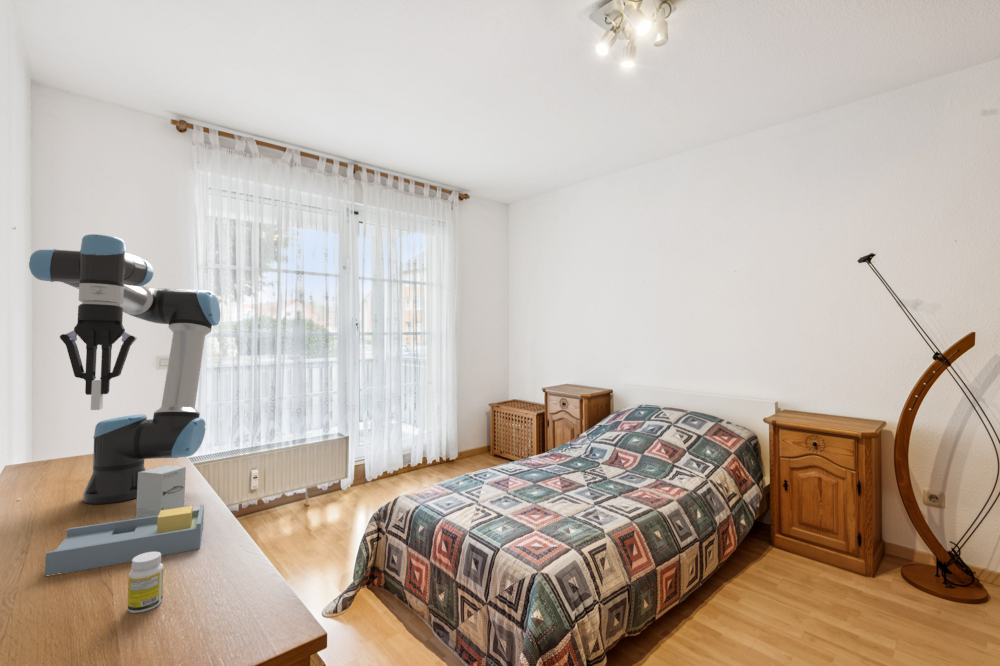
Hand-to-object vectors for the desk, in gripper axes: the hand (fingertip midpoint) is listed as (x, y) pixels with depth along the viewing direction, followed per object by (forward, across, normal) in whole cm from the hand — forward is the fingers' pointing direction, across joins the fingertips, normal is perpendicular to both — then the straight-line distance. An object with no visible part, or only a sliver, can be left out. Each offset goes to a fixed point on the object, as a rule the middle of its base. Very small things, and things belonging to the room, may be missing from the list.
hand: (96, 409), depth 100 cm
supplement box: (+31, +11, +13) cm, 35 cm away
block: (+27, +16, -6) cm, 32 cm away
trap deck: (+30, +8, -6) cm, 32 cm away
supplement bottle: (+31, +14, -34) cm, 48 cm away
